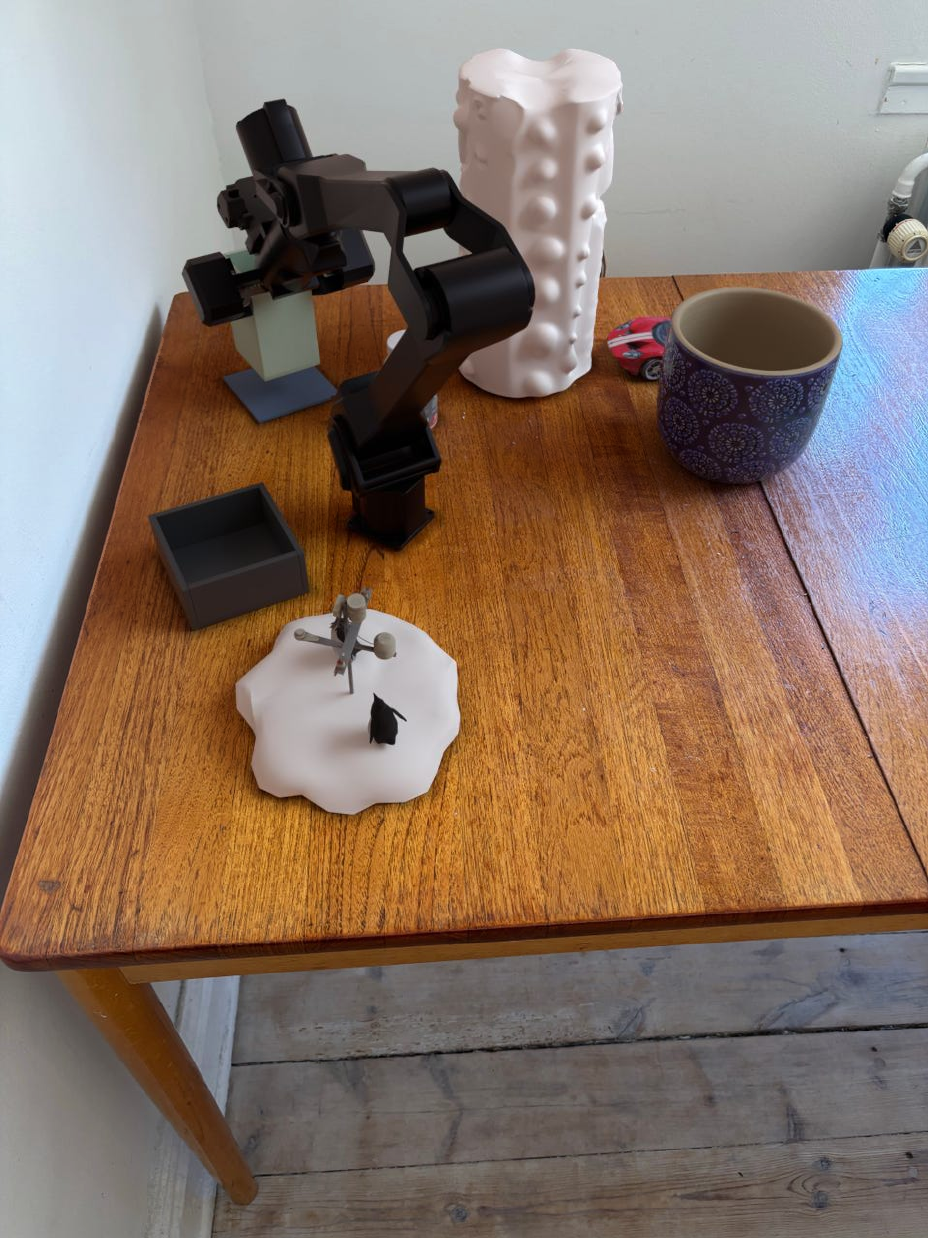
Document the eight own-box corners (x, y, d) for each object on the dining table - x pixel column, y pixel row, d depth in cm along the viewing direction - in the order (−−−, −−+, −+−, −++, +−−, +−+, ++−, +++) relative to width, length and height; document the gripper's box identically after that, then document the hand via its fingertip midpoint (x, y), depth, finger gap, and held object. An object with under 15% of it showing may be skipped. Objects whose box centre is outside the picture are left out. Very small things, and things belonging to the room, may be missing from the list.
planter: (664, 395, 115) (686, 273, 104) (812, 425, 111) (851, 302, 100) (631, 481, 104) (653, 354, 93) (794, 518, 100) (836, 390, 90)
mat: (341, 396, 114) (340, 393, 114) (259, 423, 110) (258, 420, 110) (302, 355, 120) (301, 352, 120) (223, 379, 116) (222, 376, 116)
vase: (456, 322, 125) (458, 37, 102) (587, 326, 125) (618, 41, 102) (449, 401, 114) (450, 99, 90) (594, 405, 113) (631, 104, 90)
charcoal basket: (269, 521, 99) (262, 481, 95) (309, 592, 92) (304, 552, 89) (158, 555, 96) (147, 515, 92) (192, 631, 89) (181, 591, 85)
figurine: (242, 619, 88) (213, 486, 75) (449, 610, 90) (456, 477, 77) (231, 829, 76) (194, 712, 63) (471, 813, 78) (482, 696, 65)
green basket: (320, 364, 111) (309, 268, 103) (265, 381, 108) (249, 285, 100) (289, 333, 116) (276, 239, 108) (235, 349, 113) (218, 254, 105)
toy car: (600, 340, 123) (604, 303, 119) (774, 337, 124) (784, 300, 120) (612, 384, 116) (617, 346, 113) (796, 380, 117) (807, 342, 114)
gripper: (354, 137, 97) (314, 208, 111) (168, 179, 90) (151, 248, 104) (398, 249, 98) (352, 304, 112) (217, 299, 91) (193, 351, 105)
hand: (264, 299), depth 108 cm, fingers closed on green basket, 6 cm apart
